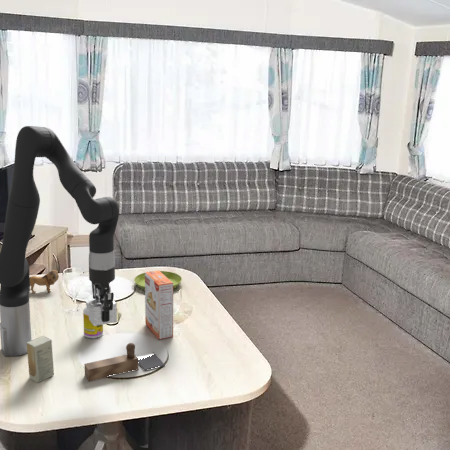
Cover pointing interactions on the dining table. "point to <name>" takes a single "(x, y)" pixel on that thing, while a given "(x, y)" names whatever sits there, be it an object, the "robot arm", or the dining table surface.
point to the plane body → (112, 365)
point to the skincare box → (40, 359)
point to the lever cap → (96, 313)
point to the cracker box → (159, 304)
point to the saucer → (170, 275)
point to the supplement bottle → (89, 328)
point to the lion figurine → (44, 280)
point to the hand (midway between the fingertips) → (102, 317)
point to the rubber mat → (151, 362)
